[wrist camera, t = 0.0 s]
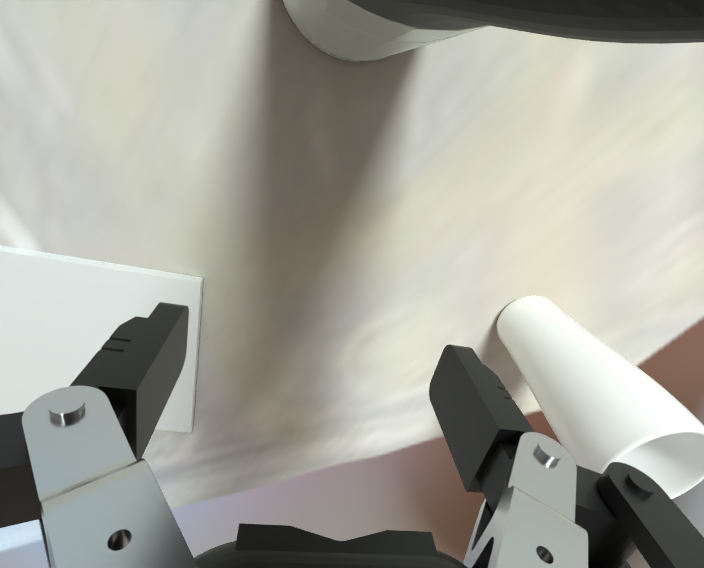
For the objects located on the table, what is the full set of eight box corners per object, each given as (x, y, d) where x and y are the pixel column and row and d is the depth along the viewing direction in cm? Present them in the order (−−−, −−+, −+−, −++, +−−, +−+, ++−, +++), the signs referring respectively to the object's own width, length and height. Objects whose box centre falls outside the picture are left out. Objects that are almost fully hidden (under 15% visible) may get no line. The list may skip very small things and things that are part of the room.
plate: (-42, 238, 26) (-52, 242, 25) (203, 277, 29) (200, 282, 28) (-1, 408, 33) (-8, 415, 32) (193, 426, 36) (190, 432, 35)
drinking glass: (480, 352, 35) (582, 516, 22) (492, 287, 32) (618, 434, 19) (551, 346, 36) (692, 504, 22) (570, 282, 32) (746, 422, 19)
